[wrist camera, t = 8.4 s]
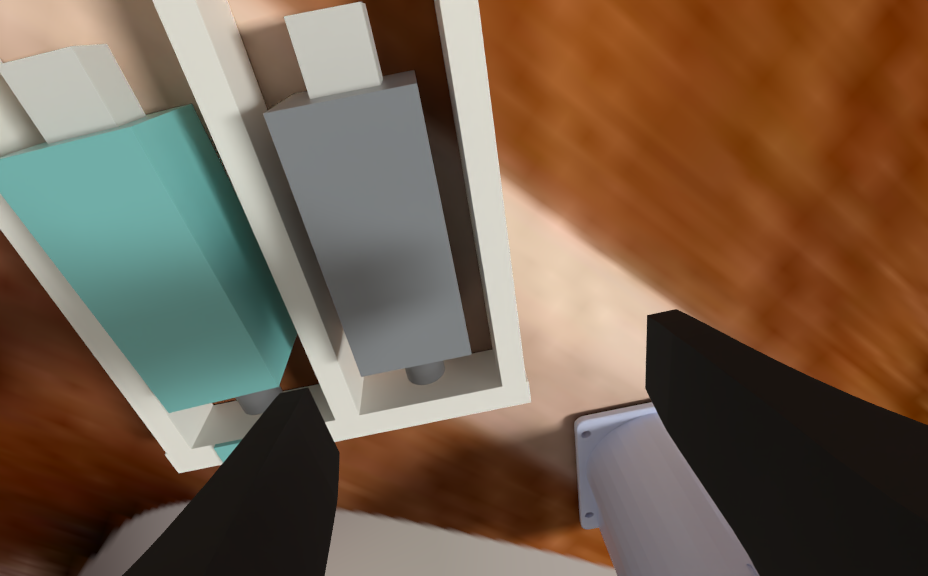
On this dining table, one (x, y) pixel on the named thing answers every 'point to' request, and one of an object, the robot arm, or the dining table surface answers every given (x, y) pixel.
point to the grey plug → (370, 197)
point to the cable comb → (306, 248)
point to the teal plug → (147, 232)
